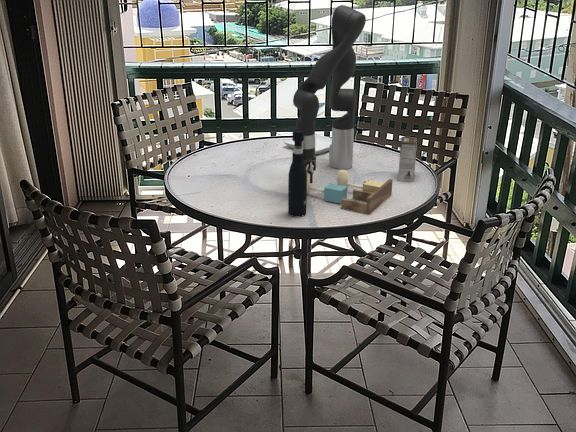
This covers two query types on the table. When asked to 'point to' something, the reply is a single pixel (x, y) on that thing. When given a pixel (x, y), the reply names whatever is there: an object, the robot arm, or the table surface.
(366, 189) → the yellow peg toy
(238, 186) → the table surface
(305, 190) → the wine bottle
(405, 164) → the coffee box
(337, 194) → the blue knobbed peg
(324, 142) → the salad plate
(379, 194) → the lane rack
